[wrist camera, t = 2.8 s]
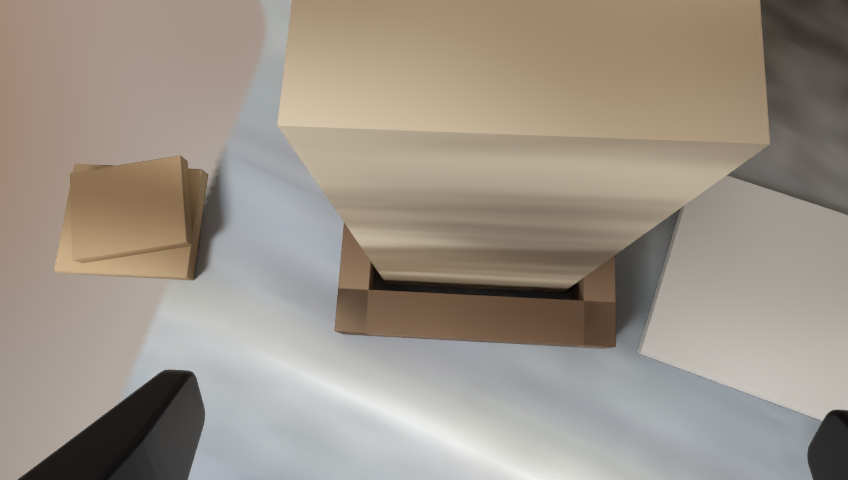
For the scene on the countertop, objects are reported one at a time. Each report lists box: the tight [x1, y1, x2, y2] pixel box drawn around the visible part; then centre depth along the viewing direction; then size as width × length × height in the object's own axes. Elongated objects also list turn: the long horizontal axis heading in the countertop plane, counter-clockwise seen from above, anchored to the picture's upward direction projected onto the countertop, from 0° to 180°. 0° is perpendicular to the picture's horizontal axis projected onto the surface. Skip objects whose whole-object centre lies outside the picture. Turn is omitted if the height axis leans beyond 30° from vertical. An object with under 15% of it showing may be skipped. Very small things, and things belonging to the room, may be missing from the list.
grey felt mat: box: [637, 175, 848, 421], centre depth 21 cm, size 7×7×1 cm
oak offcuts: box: [54, 156, 208, 280], centre depth 22 cm, size 4×5×1 cm
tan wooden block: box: [277, 0, 770, 293], centre depth 15 cm, size 4×6×14 cm, turn 87°
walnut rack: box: [335, 223, 616, 348], centre depth 21 cm, size 7×9×2 cm
